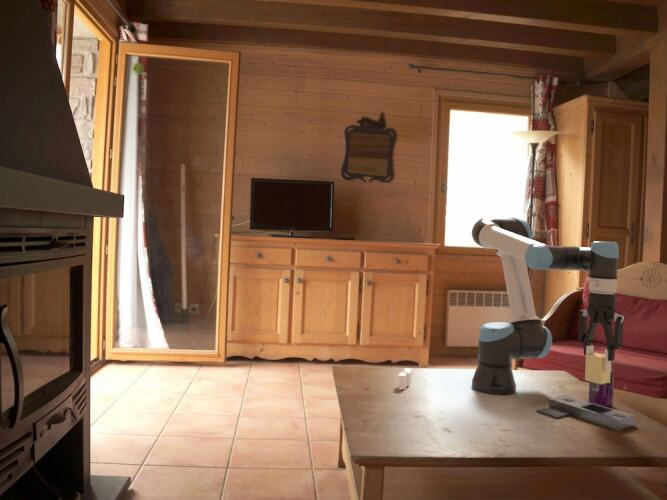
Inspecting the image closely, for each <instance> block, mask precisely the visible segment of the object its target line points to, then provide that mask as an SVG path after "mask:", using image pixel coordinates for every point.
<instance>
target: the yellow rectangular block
mask: <svg viewBox="0 0 667 500" xmlns="http://www.w3.org/2000/svg"><path fill="white" fill-rule="evenodd" d="M604 356H605V353H598V352H593V353H590V354H586V355H585V365H586V367H585V369H584V372H585V373H584V381H587V382H594V383H598V384H605V383H609V382H610V372H611V371H608V372H605V371H604Z"/></svg>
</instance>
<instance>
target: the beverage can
mask: <svg viewBox="0 0 667 500" xmlns="http://www.w3.org/2000/svg"><path fill="white" fill-rule="evenodd" d="M613 371H614V370H613V369H612V368H611V372H610V382H609V383H605V384H598V383H594V382H590V381H588V382H589V385H588V402H591V403H594V404H598V405H601V406H605V407H608V408H609V407H611V406H613V403H614V402H613V401H614V399H613V398H614V381H615V375H614V373H613Z"/></svg>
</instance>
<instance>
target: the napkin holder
mask: <svg viewBox="0 0 667 500" xmlns="http://www.w3.org/2000/svg"><path fill="white" fill-rule="evenodd" d="M412 371H413V368H407V367H405V368H404V370H403V371H402V372H399V374H398V382H397V383H398V384H397V389H398V388H403V389H405V390H406V388H407V386H411V384H412V377H413V376H412ZM410 383H411V384H410ZM406 385H407V386H406ZM405 387H406V388H405Z"/></svg>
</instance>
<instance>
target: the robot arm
mask: <svg viewBox="0 0 667 500" xmlns="http://www.w3.org/2000/svg"><path fill="white" fill-rule="evenodd" d="M531 229H532V228H531V227H530V225H529V223H527V221H526V220H524V219H520V218H516V217H515V218H514V217H495V216H494V217H493V216H486V217H483V218H480V219H478V220H477V222H475V223H474V225H473V227H472V229H471V237H472V240H473V241H474V243H475V244H477V245H478V246H480V247H482V248H483V249H484V248H485V249H488V250H490V249H491V250H492V249H494V250H495V253H496V255H497V256H498V257H500V258H501V259H500V260H501V264H502V269H503V275H504V280H505V287H506V288H505V289H506V292H507V299H508V305H509V311H510V315H511V319H510V321H509V322H506V321H505V322H504V321H500V322H498V321H493V322H487V323H484V324H482V325H480V327H479V332H478V349H477V351H478V352H477V354H478V356H477V366H476V369H475V372H474V374H473V378H472V380H471V388H472V389H474V390H475V391H478V392H481V393H485V394H491V395H505V396H506V395H512V394H515V393H516V392H517V384H516V382H515V378H514V373H513V370H512V369H513V368H512V367H513V360H523V359H524V360H526V359H528V360H529V359H531V360H535V359H541V358H545V357H546V356H547V355H548V354H549V352H550V350H552V349H551V348H552V344H553V335H552V332H551V330H550V329H548V327H547V326H544V325H543V322H542V319H541V318H540V317H538V316H537V315H536V309H535V303H534V298H533V293H532V288H531V283H530V282H531V281H530V275H529V272H528V268H529V269H532V270H538V271H545V270H546V271H555V270H556V271H578V272H579V271H582V272H589V275H588V276H589V277H588V278H589V281H588V290H589V292H588V295H587V296H588V297H587V304H588V305H587V307H586V309H579V310H578V311H577V314H578V318H579V320H578V321H579V322H578V332H577V333H578V335H577V342H579V343H581V344H583V355H584V356H586V354H590V353H594V349H595V346H594V345H593V339H594V337H595V334H596V333H595V332H596V330H597V327H598V325H599V324H601V325H602V328H603V331H604V332H603V333H604V336H605V341H606V342H605V343H606V346H607V348H605V349H604V355H605V356H604V371H605V372H608V371H611V369H612V362H613V361H615V357H616V356H615V355H616V350H620V349H622V348H623V337H624V336H623V335H624V334H623V333H624V322H625V320H626V316H625V315H620V314H618V313H617V311H616V305H617V295H616V294H615V293H616V292H617V290H618V289H617V286H618V284H617V283H618V270H619V268H618V266H619V257H620V255H619V244H618V243H617V242H615V241H598V240H597V241H592V242H591V243H590V247H587V246H583V247H582V246H573V245H572V246H571V245H570V246H564V245H563V246H561V245H560V246H559V245H548V244H545V243H543V242H540V241H538V240H537V241H536V240H535V239H532V238H533V234H532V230H531ZM588 316H589V321H588ZM613 319H614V321H615V322H614V332H613V322H612V320H613ZM584 367H585V368H586V364H585V365H584Z"/></svg>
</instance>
